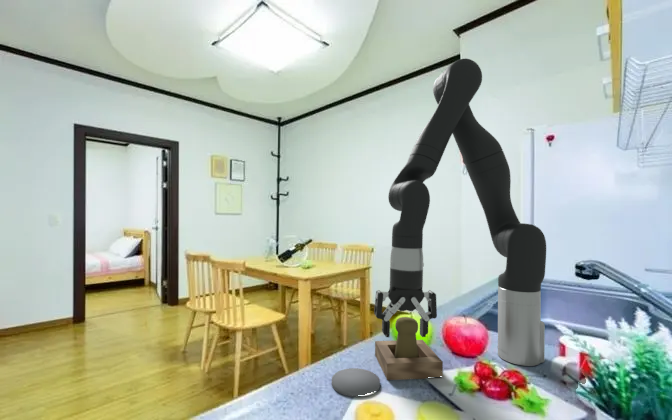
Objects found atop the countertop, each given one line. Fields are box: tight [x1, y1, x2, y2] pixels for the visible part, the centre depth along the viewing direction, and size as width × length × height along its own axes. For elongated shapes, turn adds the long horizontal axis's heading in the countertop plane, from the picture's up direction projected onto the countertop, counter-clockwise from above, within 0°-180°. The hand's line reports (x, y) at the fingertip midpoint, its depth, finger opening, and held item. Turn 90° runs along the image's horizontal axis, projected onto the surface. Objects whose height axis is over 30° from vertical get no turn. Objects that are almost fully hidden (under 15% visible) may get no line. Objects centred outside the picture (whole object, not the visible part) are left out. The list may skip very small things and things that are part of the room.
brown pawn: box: [394, 316, 419, 358], centre depth 76 cm, size 6×6×11 cm
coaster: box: [331, 367, 381, 398], centre depth 68 cm, size 10×10×1 cm
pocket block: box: [374, 339, 444, 381], centre depth 76 cm, size 12×12×4 cm
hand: (404, 336), depth 77 cm, fingers open, 8 cm apart
